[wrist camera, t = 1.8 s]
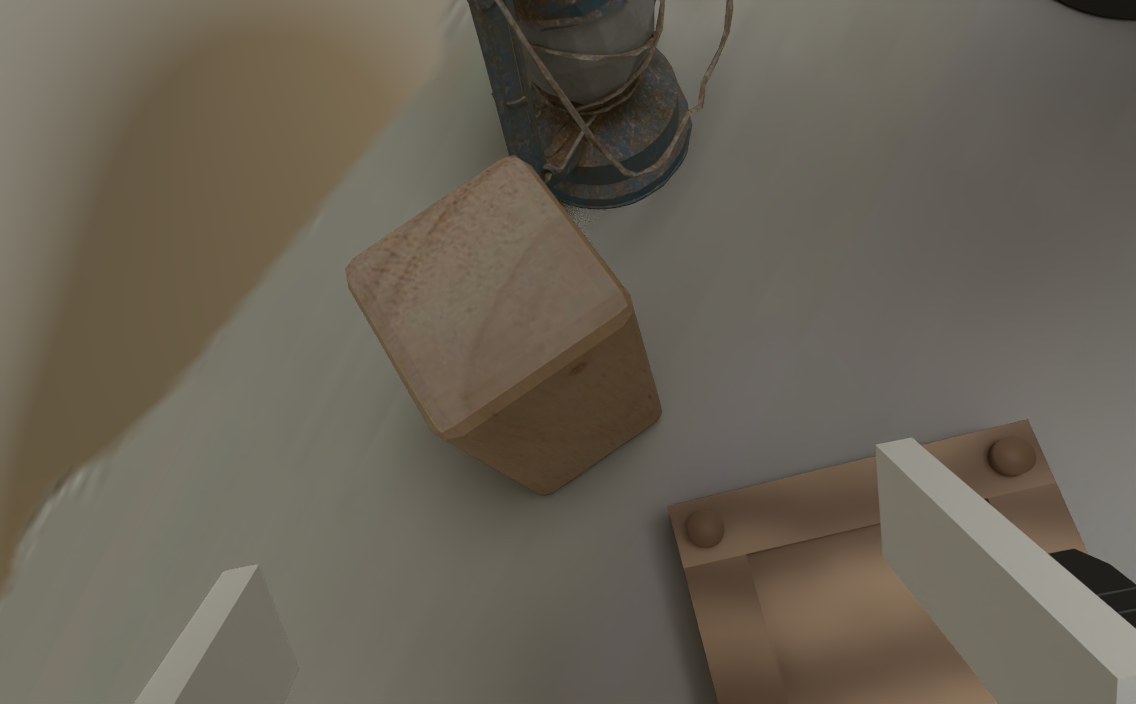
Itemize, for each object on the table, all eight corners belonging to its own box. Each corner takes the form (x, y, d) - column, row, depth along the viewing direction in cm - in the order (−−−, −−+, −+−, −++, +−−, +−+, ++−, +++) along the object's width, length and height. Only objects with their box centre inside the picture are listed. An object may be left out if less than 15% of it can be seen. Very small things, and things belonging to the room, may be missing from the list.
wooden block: (669, 416, 48) (641, 303, 29) (543, 503, 48) (433, 445, 29) (586, 303, 52) (514, 138, 33) (468, 383, 51) (328, 263, 33)
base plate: (671, 514, 46) (666, 503, 41) (997, 436, 44) (1035, 415, 39) (767, 886, 39) (775, 930, 34) (1159, 814, 37) (1231, 850, 32)
